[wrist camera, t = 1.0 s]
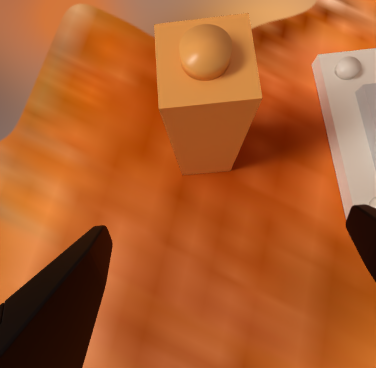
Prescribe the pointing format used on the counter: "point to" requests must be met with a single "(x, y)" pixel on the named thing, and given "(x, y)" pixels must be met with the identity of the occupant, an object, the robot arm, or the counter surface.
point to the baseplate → (350, 120)
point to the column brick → (207, 89)
